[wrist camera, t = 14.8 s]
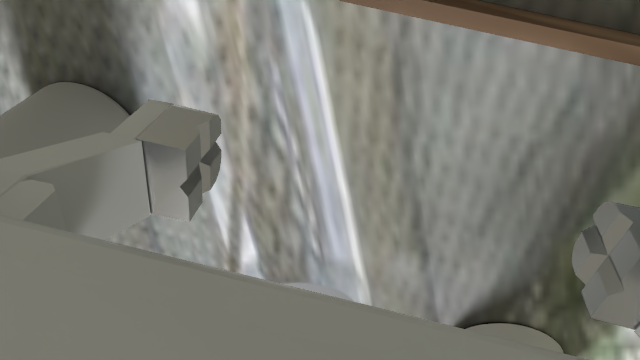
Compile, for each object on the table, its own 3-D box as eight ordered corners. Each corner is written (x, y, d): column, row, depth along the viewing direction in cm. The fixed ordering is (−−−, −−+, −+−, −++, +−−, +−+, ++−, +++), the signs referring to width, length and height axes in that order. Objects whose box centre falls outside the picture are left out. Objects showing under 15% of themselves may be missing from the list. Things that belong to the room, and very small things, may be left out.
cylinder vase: (13, 84, 46) (-291, 266, 27) (117, 73, 43) (-143, 271, 23) (73, 181, 53) (-132, 381, 34) (166, 178, 50) (-2, 397, 31)
